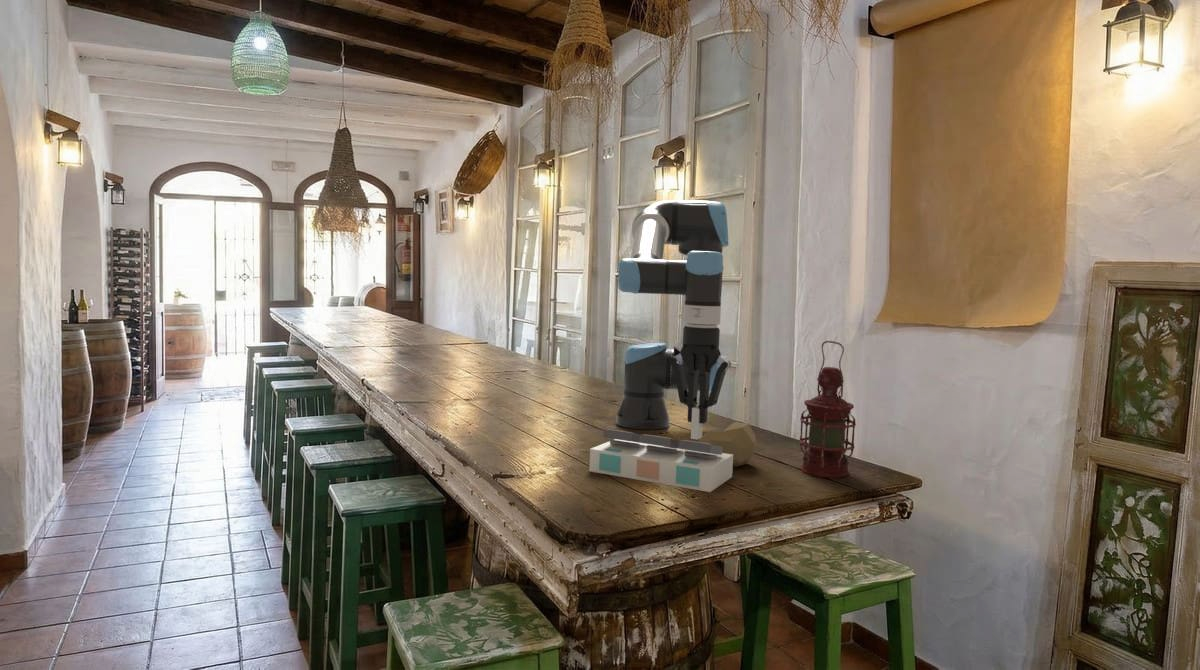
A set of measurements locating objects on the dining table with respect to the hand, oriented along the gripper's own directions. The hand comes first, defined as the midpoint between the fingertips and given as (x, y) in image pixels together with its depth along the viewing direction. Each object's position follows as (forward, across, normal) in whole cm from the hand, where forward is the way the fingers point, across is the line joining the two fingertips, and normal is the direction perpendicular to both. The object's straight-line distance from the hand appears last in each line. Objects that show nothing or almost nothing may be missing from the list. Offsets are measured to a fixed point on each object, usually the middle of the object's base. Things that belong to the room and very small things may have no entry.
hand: (696, 437), depth 168 cm
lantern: (+10, +21, +27) cm, 36 cm away
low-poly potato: (+10, 0, +20) cm, 23 cm away
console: (+10, -9, +3) cm, 14 cm away
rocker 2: (+3, 0, +3) cm, 4 cm away
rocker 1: (+3, -18, +3) cm, 18 cm away
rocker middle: (+3, -9, +3) cm, 10 cm away
